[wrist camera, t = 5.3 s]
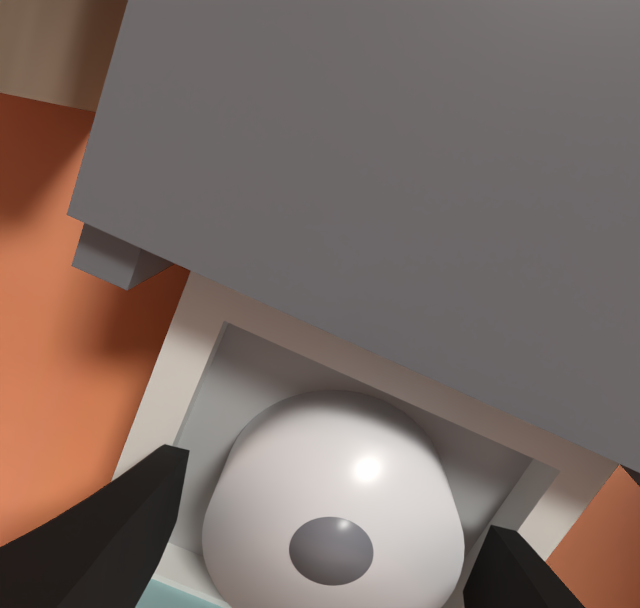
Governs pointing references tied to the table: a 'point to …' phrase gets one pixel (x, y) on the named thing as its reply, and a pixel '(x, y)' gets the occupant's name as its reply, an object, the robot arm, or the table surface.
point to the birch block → (58, 49)
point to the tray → (347, 375)
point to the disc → (333, 510)
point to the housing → (394, 185)
